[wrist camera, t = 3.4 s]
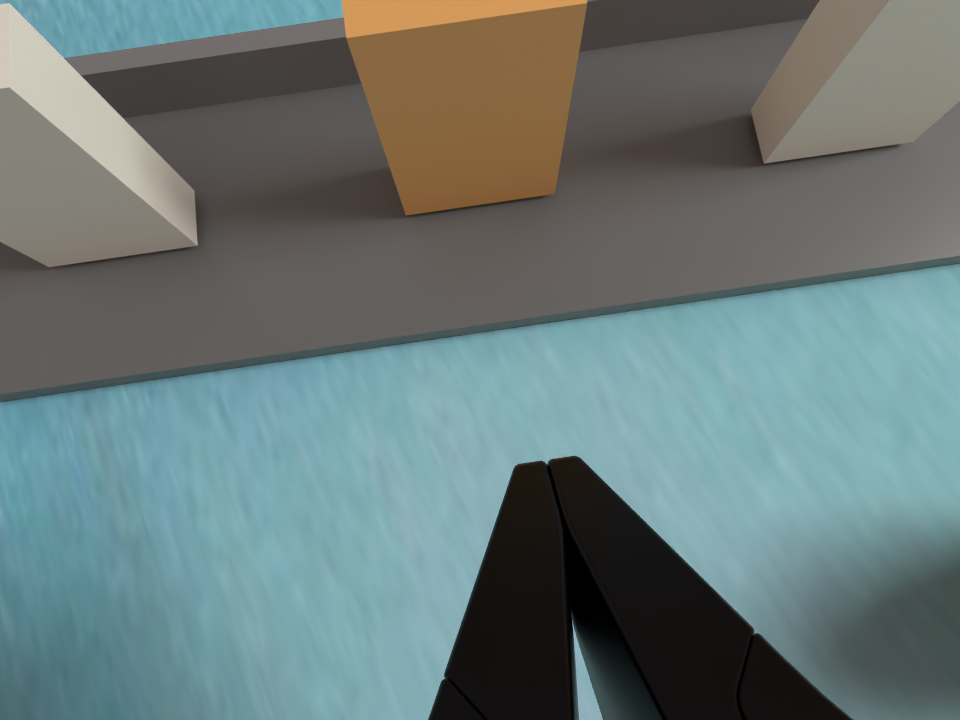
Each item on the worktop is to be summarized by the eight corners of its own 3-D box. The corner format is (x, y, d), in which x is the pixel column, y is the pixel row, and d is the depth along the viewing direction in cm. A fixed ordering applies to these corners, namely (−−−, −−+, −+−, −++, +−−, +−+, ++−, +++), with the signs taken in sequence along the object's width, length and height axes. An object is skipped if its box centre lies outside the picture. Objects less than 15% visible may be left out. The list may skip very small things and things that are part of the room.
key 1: (913, 141, 23) (1168, -82, 14) (763, 163, 23) (925, -47, 14) (897, 88, 23) (1135, -162, 15) (750, 109, 23) (900, -128, 15)
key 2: (197, 245, 23) (9, 87, 14) (49, 267, 23) (-231, 122, 14) (194, 190, 23) (9, 2, 15) (48, 211, 24) (-224, 37, 15)
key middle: (555, 193, 23) (587, 2, 14) (405, 215, 23) (346, 38, 14) (545, 139, 23) (571, -79, 15) (398, 160, 23) (336, -45, 15)
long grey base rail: (995, 257, 23) (1080, 215, 20) (2, 401, 24) (-83, 384, 20) (916, 2, 25) (981, -76, 22) (2, 135, 26) (-75, 78, 22)
